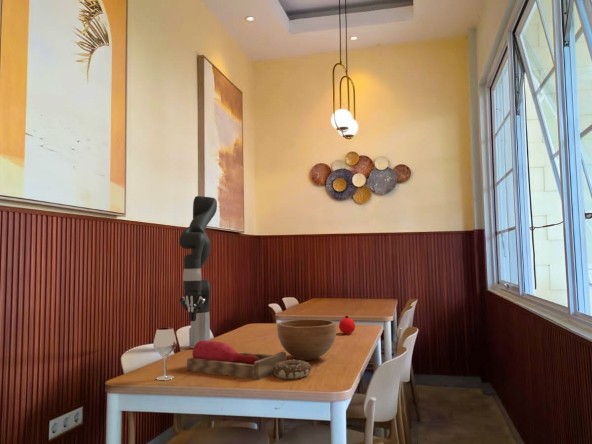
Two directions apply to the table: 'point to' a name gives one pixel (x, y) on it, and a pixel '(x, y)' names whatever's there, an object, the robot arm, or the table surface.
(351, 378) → the table surface
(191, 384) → the table surface
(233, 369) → the tray
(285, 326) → the bowl
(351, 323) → the ornament
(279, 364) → the donut
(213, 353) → the wine bottle
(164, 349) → the wineglass
